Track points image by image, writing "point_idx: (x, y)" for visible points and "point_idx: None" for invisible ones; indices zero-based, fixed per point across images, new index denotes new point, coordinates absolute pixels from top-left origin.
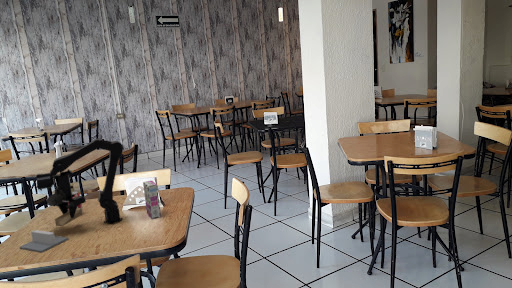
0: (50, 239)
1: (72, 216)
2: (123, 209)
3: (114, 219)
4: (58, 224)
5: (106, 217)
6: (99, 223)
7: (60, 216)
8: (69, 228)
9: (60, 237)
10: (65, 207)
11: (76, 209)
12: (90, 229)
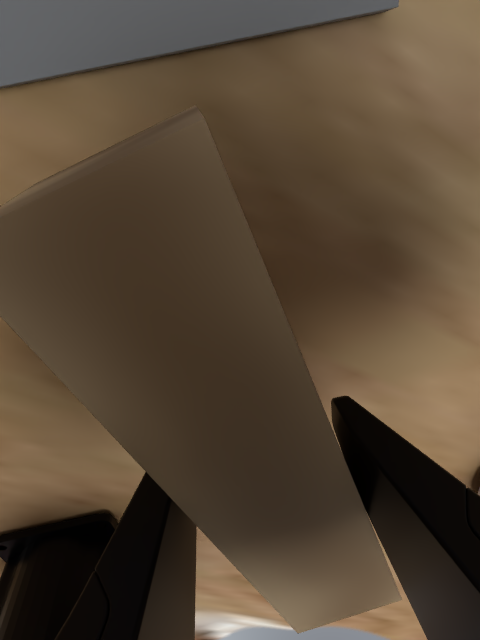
0: None
1: None
2: (241, 619)
3: (5, 580)
4: (123, 145)
5: (78, 574)
6: None
7: (257, 344)
8: (309, 320)
9: (11, 46)
10: (444, 629)
11: (314, 597)
12: (50, 408)
